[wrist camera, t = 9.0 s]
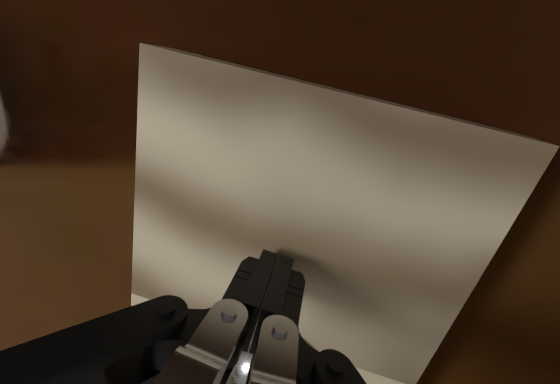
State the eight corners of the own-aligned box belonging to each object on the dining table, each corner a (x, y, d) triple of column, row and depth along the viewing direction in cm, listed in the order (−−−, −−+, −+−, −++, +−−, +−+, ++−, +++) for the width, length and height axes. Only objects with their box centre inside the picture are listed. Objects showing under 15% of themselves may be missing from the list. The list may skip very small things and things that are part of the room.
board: (172, 48, 14) (139, 43, 12) (520, 133, 13) (559, 146, 10) (149, 362, 23) (128, 394, 20) (356, 435, 21) (359, 478, 19)
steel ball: (243, 318, 18) (222, 382, 16) (297, 335, 18) (283, 402, 16) (241, 333, 21) (222, 390, 18) (288, 349, 20) (275, 408, 18)
